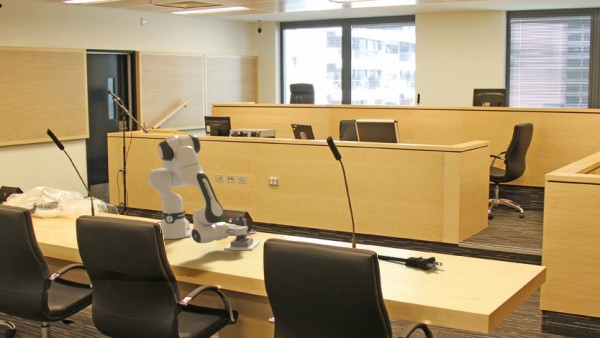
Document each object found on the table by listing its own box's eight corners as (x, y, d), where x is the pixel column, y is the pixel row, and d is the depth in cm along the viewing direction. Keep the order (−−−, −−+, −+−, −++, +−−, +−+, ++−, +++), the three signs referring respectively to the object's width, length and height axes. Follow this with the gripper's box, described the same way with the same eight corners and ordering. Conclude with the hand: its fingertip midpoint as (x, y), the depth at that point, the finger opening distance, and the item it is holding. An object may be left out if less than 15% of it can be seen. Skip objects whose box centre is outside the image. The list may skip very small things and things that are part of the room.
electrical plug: (433, 272, 325) (433, 261, 324) (360, 261, 354) (360, 251, 353) (444, 268, 331) (444, 257, 330) (372, 258, 360) (371, 248, 359)
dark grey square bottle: (238, 237, 385) (237, 214, 384) (247, 237, 384) (246, 214, 383) (236, 239, 381) (235, 216, 379) (244, 239, 380) (243, 216, 378)
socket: (232, 243, 392) (232, 236, 392) (259, 243, 389) (259, 237, 389) (223, 249, 378) (223, 243, 377) (252, 250, 375) (251, 243, 374)
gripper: (233, 227, 365) (255, 222, 375) (209, 222, 380) (230, 218, 389) (234, 239, 366) (255, 235, 375) (209, 234, 381) (230, 229, 390)
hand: (242, 226), depth 383 cm, fingers closed on dark grey square bottle, 6 cm apart
